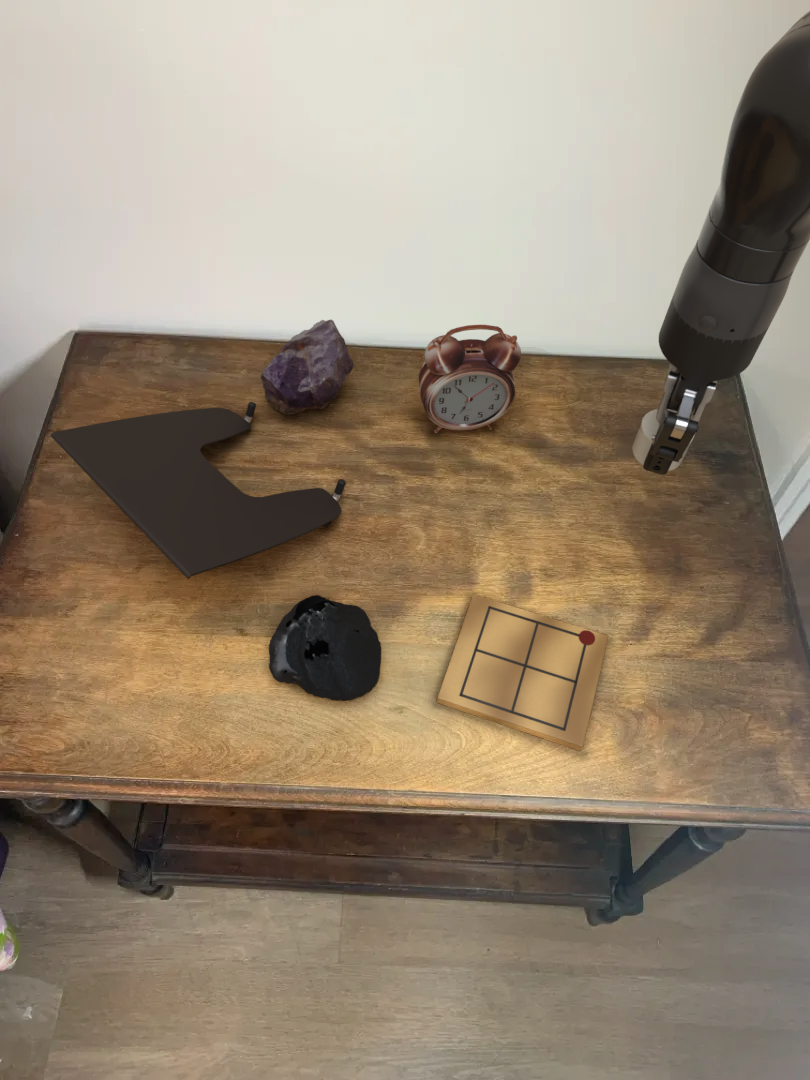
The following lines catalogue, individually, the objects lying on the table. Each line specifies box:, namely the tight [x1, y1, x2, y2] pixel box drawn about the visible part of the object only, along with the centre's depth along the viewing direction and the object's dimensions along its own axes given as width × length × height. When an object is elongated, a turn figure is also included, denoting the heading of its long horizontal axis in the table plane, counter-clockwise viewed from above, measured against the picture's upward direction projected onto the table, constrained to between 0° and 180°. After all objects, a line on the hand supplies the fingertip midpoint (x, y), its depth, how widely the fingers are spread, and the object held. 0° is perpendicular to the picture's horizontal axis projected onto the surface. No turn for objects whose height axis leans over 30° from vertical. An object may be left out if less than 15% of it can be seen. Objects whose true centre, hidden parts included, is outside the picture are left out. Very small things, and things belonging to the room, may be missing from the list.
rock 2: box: [268, 594, 382, 702], centre depth 78 cm, size 9×10×10 cm
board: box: [436, 593, 609, 751], centre depth 79 cm, size 14×12×1 cm
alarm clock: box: [418, 324, 522, 434], centre depth 91 cm, size 11×5×15 cm, turn 97°
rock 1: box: [260, 319, 355, 416], centre depth 95 cm, size 12×9×10 cm
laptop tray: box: [50, 401, 347, 580], centre depth 86 cm, size 23×23×9 cm
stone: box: [631, 408, 696, 472], centre depth 75 cm, size 5×5×3 cm
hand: (659, 448), depth 76 cm, fingers closed on stone, 4 cm apart
